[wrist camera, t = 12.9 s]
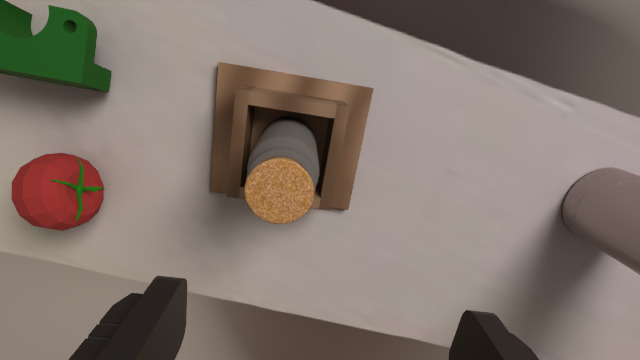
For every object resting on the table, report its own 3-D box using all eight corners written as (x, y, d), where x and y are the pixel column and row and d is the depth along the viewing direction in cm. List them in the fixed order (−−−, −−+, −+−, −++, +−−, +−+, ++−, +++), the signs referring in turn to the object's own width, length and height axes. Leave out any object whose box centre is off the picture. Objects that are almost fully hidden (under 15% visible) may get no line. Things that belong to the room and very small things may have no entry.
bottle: (293, 178, 38) (287, 246, 24) (251, 146, 37) (218, 199, 23) (326, 138, 37) (340, 186, 23) (283, 104, 36) (270, 132, 21)
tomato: (-21, 224, 30) (49, 217, 29) (2, 145, 33) (68, 135, 32) (61, 237, 38) (120, 232, 36) (74, 171, 40) (130, 165, 39)
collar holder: (371, 88, 36) (383, 92, 31) (347, 206, 41) (353, 229, 35) (220, 62, 35) (204, 62, 29) (212, 188, 39) (196, 209, 34)
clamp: (118, 41, 38) (113, 20, 30) (111, 95, 38) (105, 88, 30) (-28, 2, 32) (-82, -38, 24) (-34, 66, 32) (-89, 47, 25)
